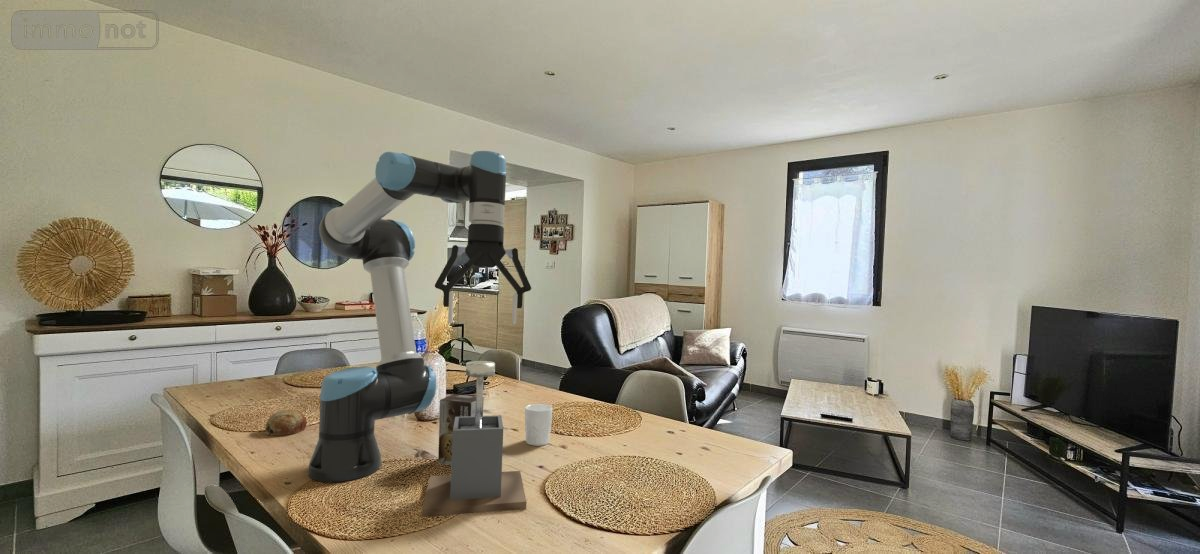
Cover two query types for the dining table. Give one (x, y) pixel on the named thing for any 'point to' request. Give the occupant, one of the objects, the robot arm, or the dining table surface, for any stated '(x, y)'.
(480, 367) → the plunger
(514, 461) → the dining table surface
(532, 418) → the white cup
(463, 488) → the box
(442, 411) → the coffee box
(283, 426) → the brown rounded lump
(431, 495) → the base
